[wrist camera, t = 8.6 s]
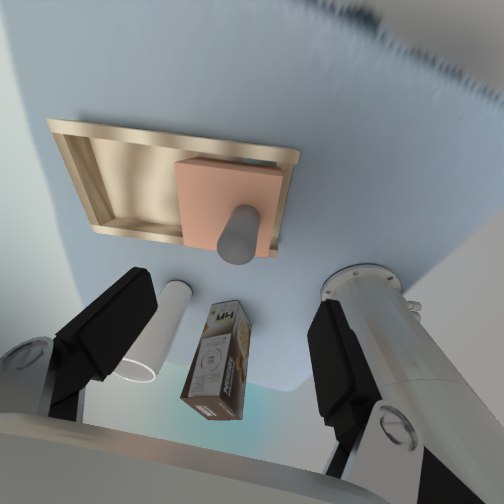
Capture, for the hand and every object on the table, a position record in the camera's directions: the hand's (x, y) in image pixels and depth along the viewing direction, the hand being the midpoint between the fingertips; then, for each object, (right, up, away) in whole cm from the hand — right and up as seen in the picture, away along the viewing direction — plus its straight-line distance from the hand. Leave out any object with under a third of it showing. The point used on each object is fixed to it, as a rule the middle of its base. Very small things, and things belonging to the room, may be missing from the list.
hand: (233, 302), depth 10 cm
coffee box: (-3, -11, +29) cm, 31 cm away
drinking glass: (-13, -5, +26) cm, 30 cm away
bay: (-7, +11, +15) cm, 20 cm away
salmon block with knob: (-1, +10, +14) cm, 17 cm away
